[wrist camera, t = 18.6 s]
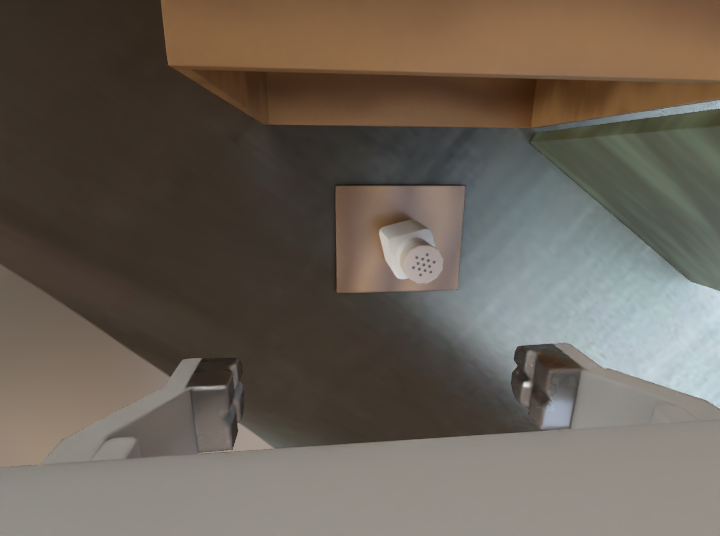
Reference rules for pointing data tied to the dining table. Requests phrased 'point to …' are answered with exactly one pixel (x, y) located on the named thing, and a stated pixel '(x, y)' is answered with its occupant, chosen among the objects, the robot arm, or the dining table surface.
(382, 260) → the coaster
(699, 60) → the cupboard
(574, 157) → the cupboard door
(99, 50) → the dining table surface
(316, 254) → the dining table surface
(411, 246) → the pepper shaker
